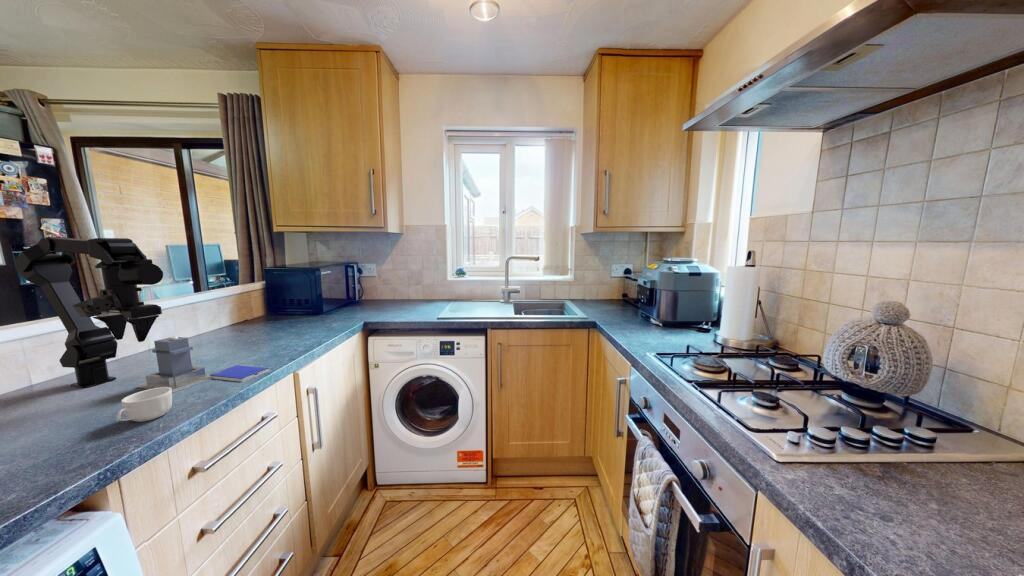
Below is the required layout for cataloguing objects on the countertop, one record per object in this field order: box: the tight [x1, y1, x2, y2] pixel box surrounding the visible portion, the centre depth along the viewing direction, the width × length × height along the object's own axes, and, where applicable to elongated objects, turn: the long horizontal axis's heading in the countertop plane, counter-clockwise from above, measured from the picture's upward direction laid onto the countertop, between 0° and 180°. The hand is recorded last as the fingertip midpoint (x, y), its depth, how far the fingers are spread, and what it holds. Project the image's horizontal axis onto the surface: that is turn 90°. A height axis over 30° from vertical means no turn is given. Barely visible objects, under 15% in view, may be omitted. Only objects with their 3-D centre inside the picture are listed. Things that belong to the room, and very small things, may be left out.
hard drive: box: [209, 364, 270, 383], centre depth 100 cm, size 2×8×12 cm
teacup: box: [116, 387, 173, 423], centre depth 74 cm, size 10×8×5 cm
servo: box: [151, 335, 194, 377], centre depth 94 cm, size 8×4×13 cm, turn 75°
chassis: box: [137, 365, 214, 394], centre depth 95 cm, size 14×10×3 cm
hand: (130, 340), depth 92 cm, fingers open, 9 cm apart
